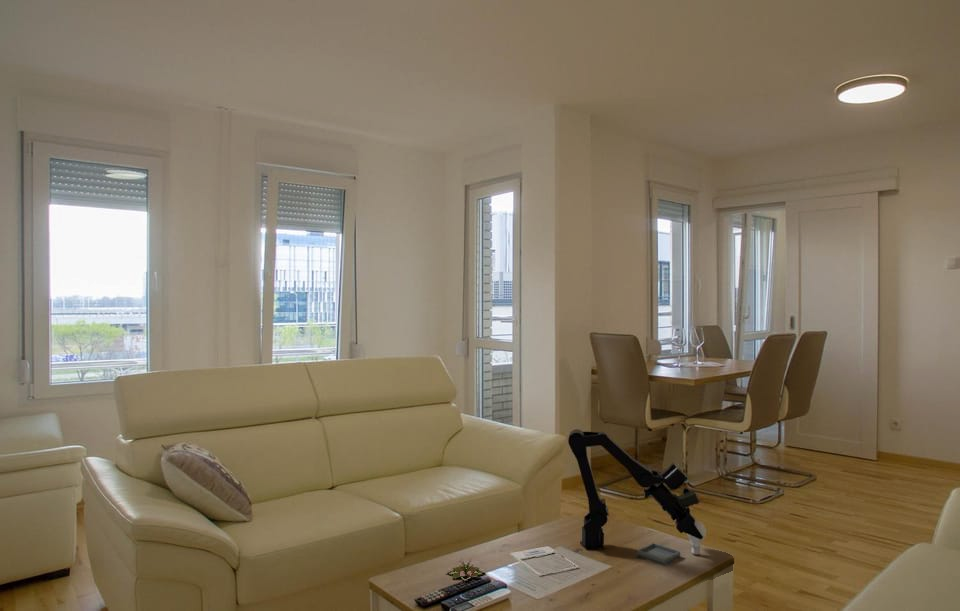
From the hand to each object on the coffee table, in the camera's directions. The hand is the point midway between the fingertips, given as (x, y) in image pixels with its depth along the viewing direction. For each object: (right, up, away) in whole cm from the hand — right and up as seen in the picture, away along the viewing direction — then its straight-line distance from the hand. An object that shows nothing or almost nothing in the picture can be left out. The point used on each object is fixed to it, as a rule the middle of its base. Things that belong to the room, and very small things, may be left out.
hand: (700, 534), depth 201 cm
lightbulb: (-1, -7, 0) cm, 7 cm away
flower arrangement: (-77, -6, -17) cm, 79 cm away
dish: (-14, -6, -2) cm, 16 cm away
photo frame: (-52, -6, -7) cm, 53 cm away
